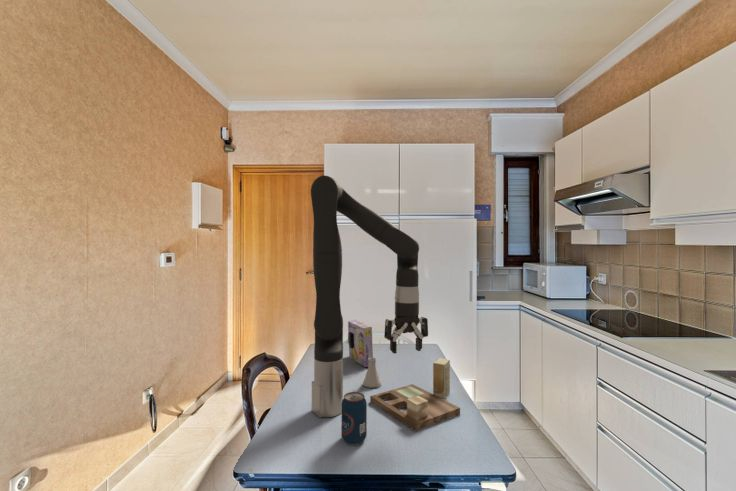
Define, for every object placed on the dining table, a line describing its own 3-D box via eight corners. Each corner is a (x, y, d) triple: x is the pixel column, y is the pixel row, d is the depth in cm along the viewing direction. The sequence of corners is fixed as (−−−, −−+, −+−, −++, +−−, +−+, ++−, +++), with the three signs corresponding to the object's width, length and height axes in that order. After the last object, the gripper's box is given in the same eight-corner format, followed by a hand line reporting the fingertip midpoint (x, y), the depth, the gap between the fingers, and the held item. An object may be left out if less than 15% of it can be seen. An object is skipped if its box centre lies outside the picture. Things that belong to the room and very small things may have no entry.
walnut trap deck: (415, 431, 103) (415, 424, 103) (370, 401, 122) (370, 396, 122) (460, 414, 113) (460, 407, 113) (412, 389, 133) (412, 384, 133)
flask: (379, 389, 133) (379, 362, 133) (360, 387, 134) (360, 361, 134) (382, 382, 140) (383, 356, 140) (364, 380, 141) (364, 355, 141)
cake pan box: (347, 356, 172) (347, 319, 172) (356, 354, 174) (356, 318, 174) (363, 368, 155) (363, 327, 155) (373, 366, 157) (373, 326, 157)
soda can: (336, 439, 98) (336, 396, 98) (354, 430, 103) (354, 389, 103) (353, 449, 93) (353, 404, 93) (371, 439, 98) (371, 396, 98)
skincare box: (438, 390, 132) (438, 357, 132) (450, 392, 130) (450, 359, 130) (432, 396, 126) (432, 362, 126) (444, 399, 124) (444, 364, 124)
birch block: (416, 419, 106) (416, 404, 106) (407, 413, 109) (407, 399, 109) (428, 415, 108) (428, 400, 108) (418, 409, 112) (418, 395, 112)
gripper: (391, 303, 106) (390, 357, 106) (432, 301, 111) (432, 352, 111) (381, 299, 113) (380, 350, 113) (420, 297, 118) (420, 346, 118)
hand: (406, 351), depth 112 cm, fingers open, 8 cm apart
